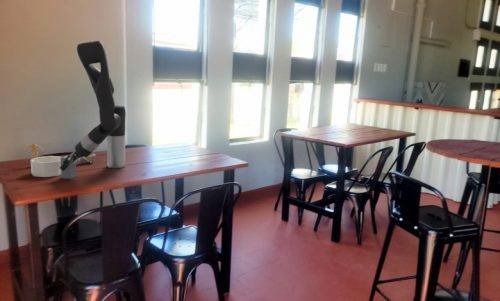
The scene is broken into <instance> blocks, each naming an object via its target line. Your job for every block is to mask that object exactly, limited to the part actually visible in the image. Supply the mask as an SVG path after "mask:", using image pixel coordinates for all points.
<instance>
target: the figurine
mask: <svg viewBox="0 0 500 301" xmlns="http://www.w3.org/2000/svg"><path fill="white" fill-rule="evenodd" d="M37 147H38V148H40V149H41V151H42V153H43V152H44V149H43V148H42V146H40V145H38V144H36V143H35V142H33V143H31V145H29V146H27V147H26V149H25V152H28V149H30V148H31V149H32V150H31V154H32V159H34V158H37V157H38V154H39V153H38V149H37ZM35 154H36V155H35Z"/></svg>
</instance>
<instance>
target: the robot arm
mask: <svg viewBox="0 0 500 301" xmlns="http://www.w3.org/2000/svg"><path fill="white" fill-rule="evenodd" d="M76 51H77V56H78V58H79V60H80V62H81V64H82V66H83V68H84V70H85V72H86V74H87V76H88V79H89V81H90V85H91V87H92V90H93V92H94V94H95V99H96V102H97V105H98V108H99V110H98V112H99V122H100V123H99V124H98V125H97V126H94V128H92V129H91V130H90V131H89V132H88V133H87V134H86V135H85V136H84V137H83V138H81V140H79V142H78V143H76V144H75V146H74V150H75V151H73V152H71V154H70V155H67V156H68V157H67V158H66V159H65V160H64V161H63V163H64V164H63V165H62V166H61V167H60V169H61V170H62V171H64V170H65V169H66V168H67V167H68V166H69V165H70V164H71V163H74V162H75V163H76V164H77V162H78V163H79V160H81V159H82V158H83V157H88V156H89V155H90V154H91V153H92V152H93V153H94V151H95V150H97V149H98V147H99V146H100V145H101V144H102V143H103V142H104V141H105V140H106V154H107V155H106V157H107V158H106V159H107V161H106V162H107V168H111V169H121V168H125V167H126V117H127V116H126V108H125V106H124V105H120V104H116V103H115V99H114V92H115V88H114V83H113V81H112V78H111V77H110V71H109V65H108V58H107V53H106V49H105V47H104V44H103V42H102V41H101V40H94V41H87V42H82V43H78V44H77V46H76ZM95 64H100V65H99V66H100V69H99V68H97V66H95Z"/></svg>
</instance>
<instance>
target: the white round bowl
mask: <svg viewBox="0 0 500 301" xmlns="http://www.w3.org/2000/svg"><path fill="white" fill-rule="evenodd" d="M61 157H62V156H55V155H47V156H46V155H45V156H37V158H36V157H34V159H33V158H31V159H30V173H31V175H32V176H33V177H41V178H50V177H58V176H61V169H60V167H61Z"/></svg>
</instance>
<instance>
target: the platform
mask: <svg viewBox="0 0 500 301" xmlns="http://www.w3.org/2000/svg"><path fill="white" fill-rule="evenodd" d="M95 156H96V153H94V151H93V152H92V153H91V154H90V155H89V156H88V157H83V158H82V159H81V160H79V161H78V164H80V165H82V164H88V163H89V162H90V164H92V163H94V162H95V161H94V157H95Z"/></svg>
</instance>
